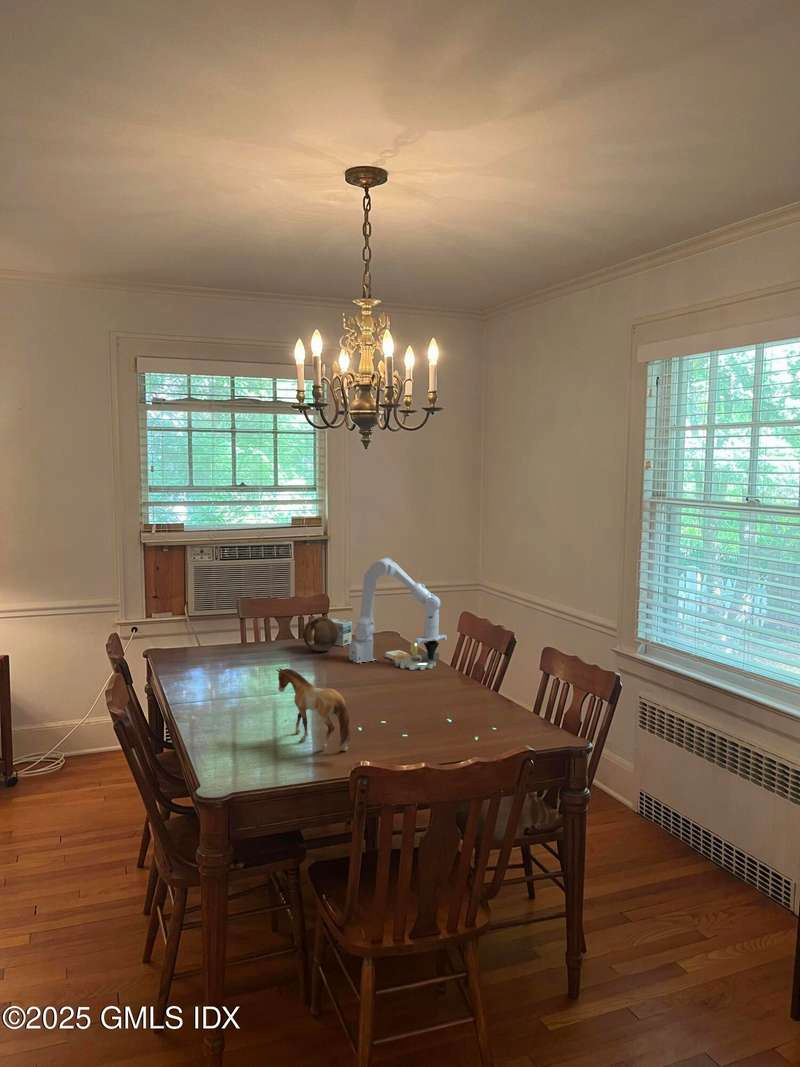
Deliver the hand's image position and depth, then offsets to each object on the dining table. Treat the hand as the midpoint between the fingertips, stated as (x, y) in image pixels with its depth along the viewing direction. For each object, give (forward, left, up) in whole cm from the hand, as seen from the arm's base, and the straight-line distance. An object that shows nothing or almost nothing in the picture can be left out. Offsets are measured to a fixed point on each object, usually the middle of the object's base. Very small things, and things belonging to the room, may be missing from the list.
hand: (430, 659), depth 308 cm
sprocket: (-4, +5, -3) cm, 7 cm away
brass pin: (+4, +17, -3) cm, 18 cm away
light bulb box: (-13, +52, -3) cm, 54 cm away
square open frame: (-4, +18, -3) cm, 19 cm away
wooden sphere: (-26, +45, -3) cm, 52 cm away
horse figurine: (-83, -52, -3) cm, 98 cm away
